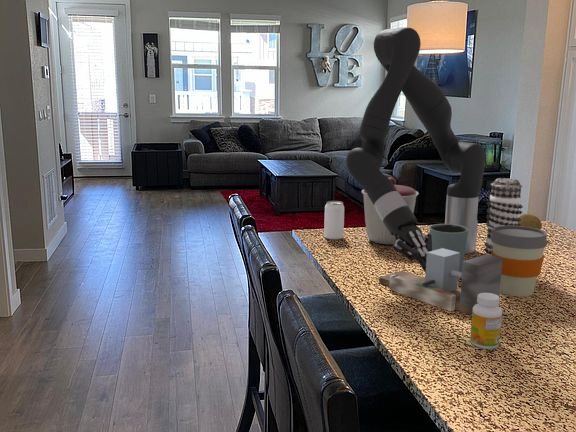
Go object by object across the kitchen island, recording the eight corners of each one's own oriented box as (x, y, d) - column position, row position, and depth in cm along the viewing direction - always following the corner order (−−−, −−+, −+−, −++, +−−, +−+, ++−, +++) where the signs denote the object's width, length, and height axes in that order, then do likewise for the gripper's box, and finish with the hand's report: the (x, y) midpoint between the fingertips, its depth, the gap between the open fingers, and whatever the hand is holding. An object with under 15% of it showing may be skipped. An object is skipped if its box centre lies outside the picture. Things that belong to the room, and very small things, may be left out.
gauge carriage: (414, 291, 132) (416, 254, 130) (440, 283, 138) (442, 248, 136) (443, 301, 126) (446, 263, 124) (468, 292, 132) (471, 255, 130)
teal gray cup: (465, 267, 157) (469, 225, 155) (464, 277, 148) (468, 233, 146) (428, 263, 161) (431, 222, 158) (425, 273, 151) (427, 230, 149)
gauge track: (374, 284, 143) (375, 240, 140) (402, 276, 149) (404, 233, 147) (470, 318, 121) (474, 267, 119) (498, 307, 128) (502, 258, 125)
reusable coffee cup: (536, 302, 131) (543, 240, 127) (481, 292, 137) (486, 232, 134) (545, 287, 141) (551, 229, 138) (493, 278, 148) (498, 223, 144)
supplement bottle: (465, 338, 111) (469, 291, 109) (491, 337, 112) (495, 290, 110) (476, 350, 106) (480, 301, 104) (504, 349, 107) (508, 300, 105)
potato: (512, 234, 195) (514, 211, 193) (535, 235, 194) (537, 212, 192) (517, 239, 188) (519, 215, 187) (541, 240, 187) (543, 216, 186)
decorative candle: (475, 268, 156) (483, 179, 151) (489, 261, 162) (497, 175, 157) (508, 276, 150) (517, 183, 144) (521, 268, 156) (530, 179, 151)
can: (342, 240, 185) (343, 204, 182) (322, 239, 186) (323, 203, 184) (344, 235, 191) (345, 201, 189) (325, 234, 192) (326, 200, 190)
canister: (375, 231, 197) (377, 172, 193) (424, 239, 187) (428, 176, 182) (349, 242, 183) (351, 178, 178) (401, 251, 172) (404, 183, 168)
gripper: (385, 207, 136) (423, 268, 129) (420, 201, 144) (458, 258, 137) (368, 225, 141) (404, 284, 134) (403, 218, 149) (438, 274, 142)
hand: (431, 271), depth 136 cm, fingers closed
